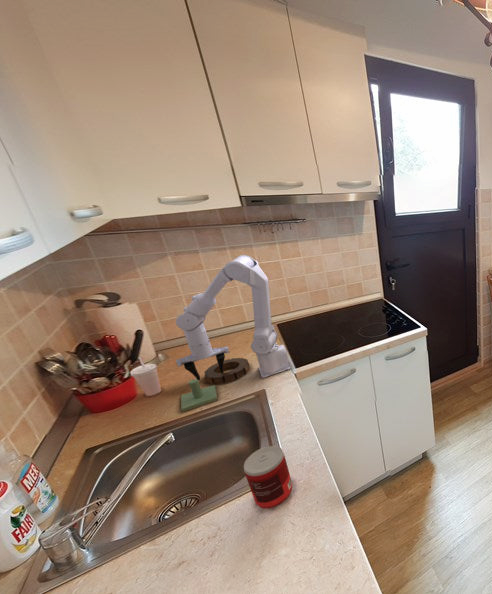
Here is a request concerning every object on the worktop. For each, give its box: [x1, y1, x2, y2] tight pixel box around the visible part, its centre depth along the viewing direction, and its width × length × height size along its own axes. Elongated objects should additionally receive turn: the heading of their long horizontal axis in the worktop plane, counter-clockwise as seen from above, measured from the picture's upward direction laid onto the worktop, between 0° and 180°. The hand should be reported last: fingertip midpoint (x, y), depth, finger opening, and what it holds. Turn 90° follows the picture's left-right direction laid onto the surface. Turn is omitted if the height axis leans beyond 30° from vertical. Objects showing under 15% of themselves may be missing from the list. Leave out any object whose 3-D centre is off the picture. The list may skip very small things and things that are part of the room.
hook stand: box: [180, 378, 218, 413], centre depth 108 cm, size 9×9×7 cm
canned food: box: [243, 445, 293, 510], centre depth 75 cm, size 8×8×11 cm
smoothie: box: [129, 356, 162, 397], centre depth 111 cm, size 6×6×14 cm
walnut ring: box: [204, 357, 251, 385], centre depth 123 cm, size 13×13×3 cm
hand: (210, 375), depth 120 cm, fingers open, 6 cm apart
